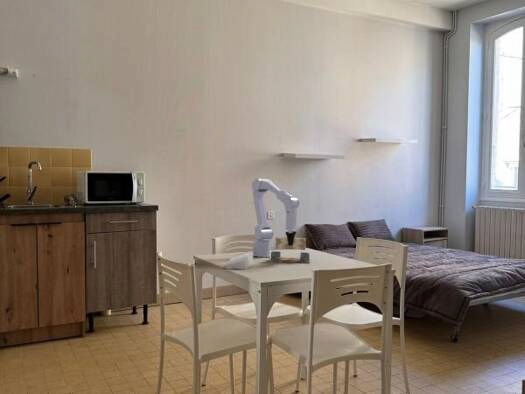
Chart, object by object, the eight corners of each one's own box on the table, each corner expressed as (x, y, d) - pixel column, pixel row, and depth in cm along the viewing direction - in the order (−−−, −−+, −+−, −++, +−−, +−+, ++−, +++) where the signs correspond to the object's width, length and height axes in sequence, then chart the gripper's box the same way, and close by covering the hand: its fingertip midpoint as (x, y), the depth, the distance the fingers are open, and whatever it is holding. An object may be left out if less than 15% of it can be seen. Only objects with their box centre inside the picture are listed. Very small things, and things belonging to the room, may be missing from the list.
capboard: (269, 261, 270) (269, 253, 270) (271, 258, 281) (271, 250, 281) (309, 263, 267) (309, 254, 267) (310, 260, 278) (310, 252, 278)
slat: (275, 248, 274) (275, 237, 274) (275, 248, 277) (276, 237, 277) (305, 249, 273) (305, 238, 272) (305, 249, 275) (305, 238, 275)
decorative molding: (226, 274, 246) (246, 270, 245) (224, 265, 246) (244, 260, 245) (236, 263, 280) (253, 259, 279) (234, 255, 280) (251, 251, 279)
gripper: (298, 221, 267) (297, 247, 267) (299, 219, 281) (298, 243, 281) (284, 220, 267) (284, 246, 268) (286, 218, 282) (285, 243, 282)
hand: (290, 245), depth 275 cm, fingers closed on slat, 2 cm apart
